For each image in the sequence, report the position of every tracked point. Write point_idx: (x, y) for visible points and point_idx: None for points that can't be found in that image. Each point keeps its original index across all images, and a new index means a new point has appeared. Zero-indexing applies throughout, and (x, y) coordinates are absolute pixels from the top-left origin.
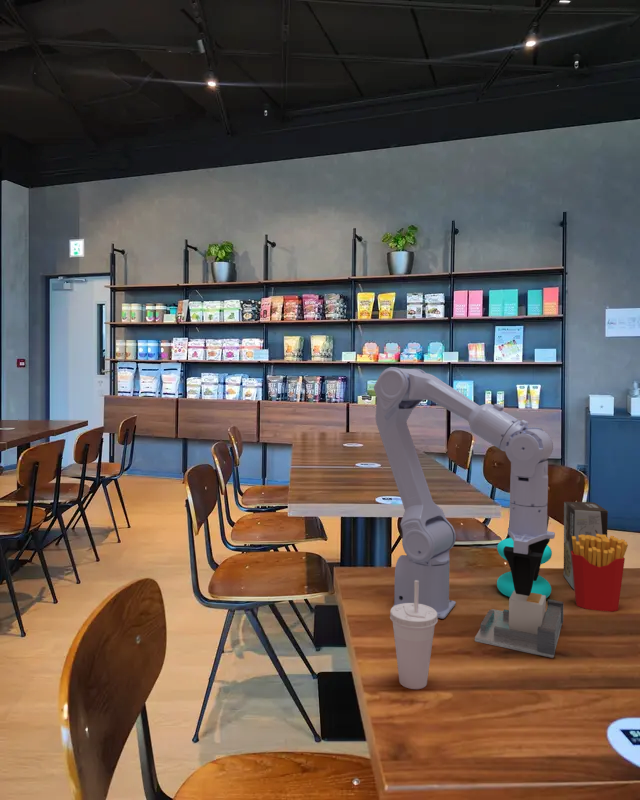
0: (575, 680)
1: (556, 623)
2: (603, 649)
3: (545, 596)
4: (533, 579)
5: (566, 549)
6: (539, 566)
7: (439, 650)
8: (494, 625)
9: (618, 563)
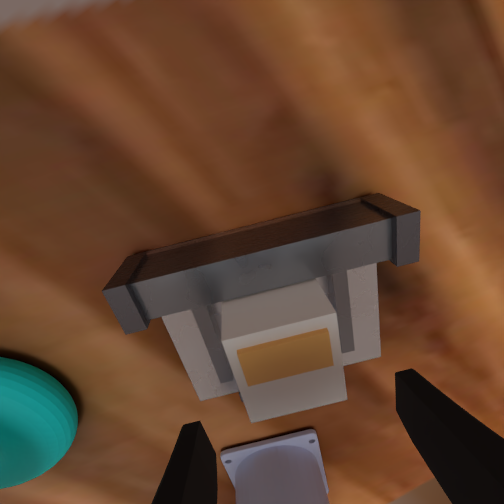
0: (467, 102)
1: (309, 239)
2: (211, 94)
3: (232, 338)
4: (461, 435)
5: None
6: (183, 501)
7: (450, 370)
8: None
9: None
